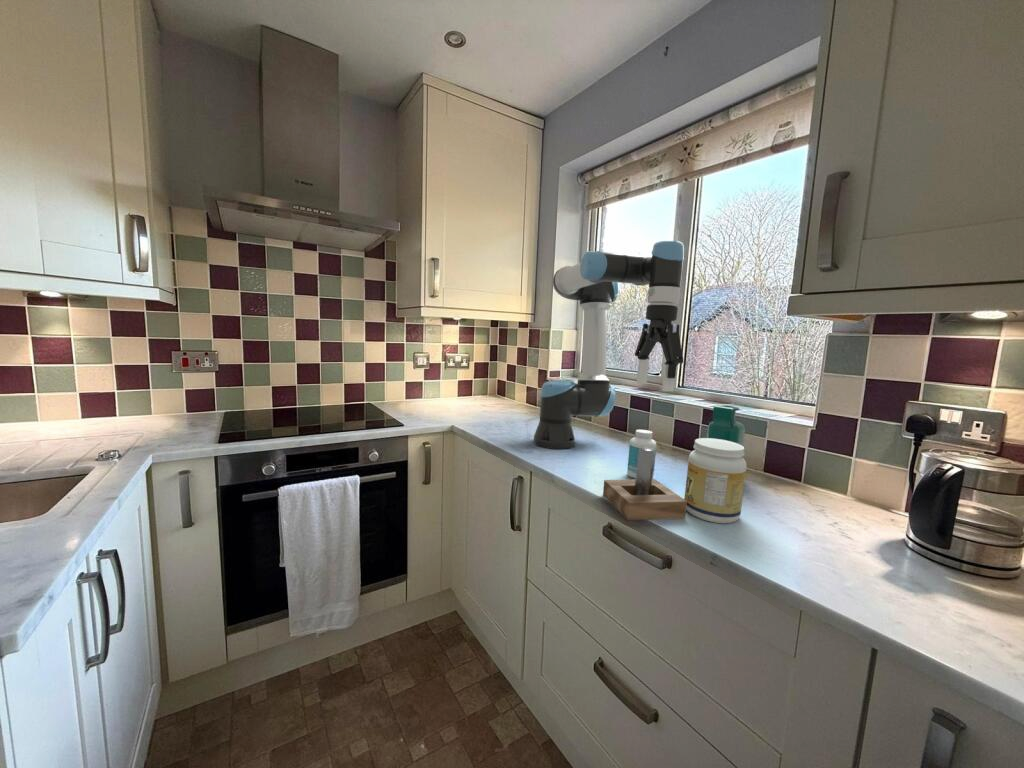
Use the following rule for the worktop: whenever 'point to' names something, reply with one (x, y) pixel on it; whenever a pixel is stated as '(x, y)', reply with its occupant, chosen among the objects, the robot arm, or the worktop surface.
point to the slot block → (644, 501)
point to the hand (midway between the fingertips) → (653, 386)
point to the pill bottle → (635, 443)
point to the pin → (644, 471)
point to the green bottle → (726, 425)
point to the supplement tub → (715, 480)
